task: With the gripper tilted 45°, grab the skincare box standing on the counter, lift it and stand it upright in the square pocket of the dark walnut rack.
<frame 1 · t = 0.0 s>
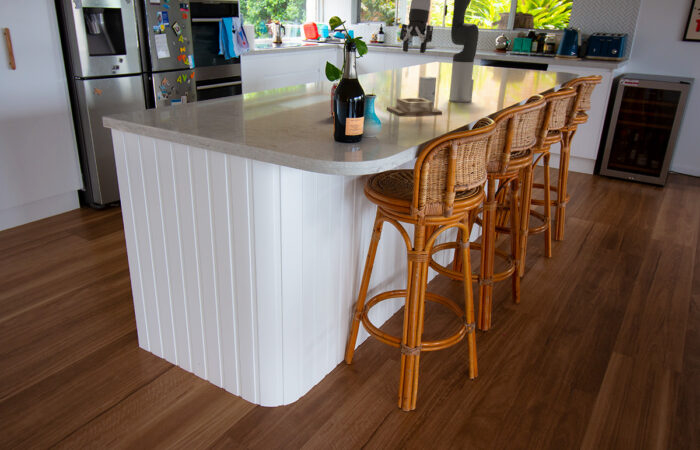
hand: (413, 52, 218), 22 cm above the counter, tool pointing down, fingers open, 8 cm apart
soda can: (340, 117, 206), on the counter
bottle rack: (413, 112, 219), on the counter
skincare box: (425, 106, 233), on the counter
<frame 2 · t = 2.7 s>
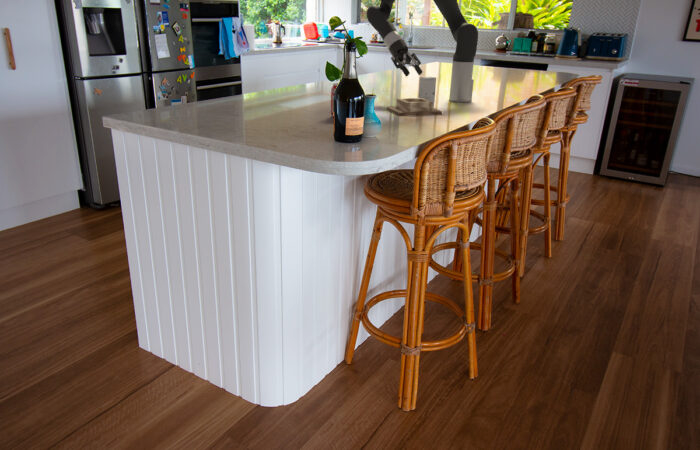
hand: (414, 74, 234), 13 cm above the counter, tool tilted 45°, fingers open, 8 cm apart
nothing on the counter moved.
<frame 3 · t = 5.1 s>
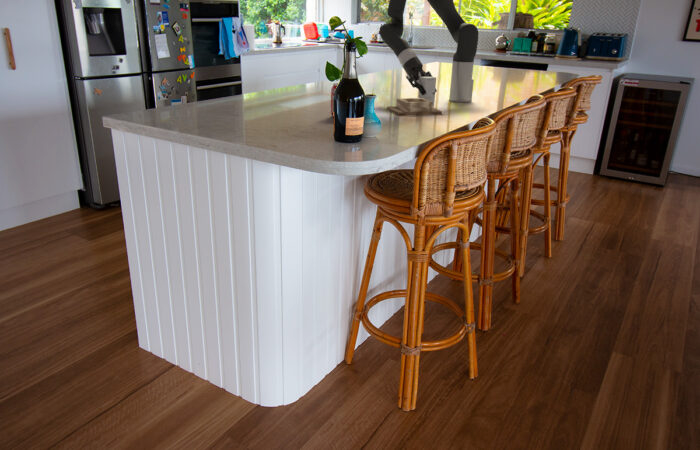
hand: (429, 93, 230), 6 cm above the counter, tool tilted 45°, fingers closed on skincare box, 6 cm apart
skincare box: (425, 106, 233), on the counter, touching gripper
everything else where it was.
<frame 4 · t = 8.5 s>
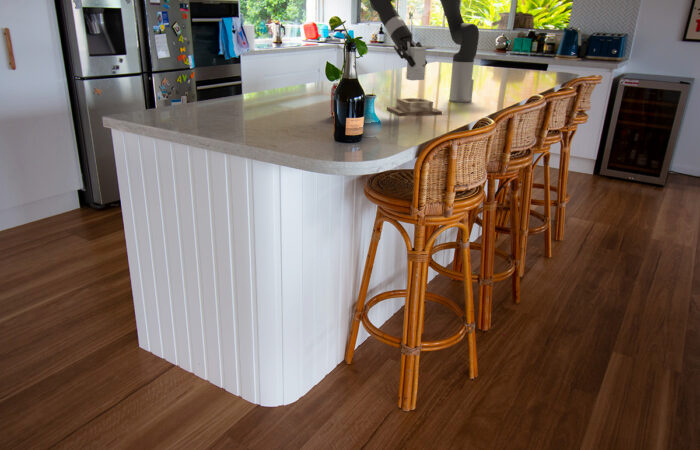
hand: (419, 65, 211), 18 cm above the counter, tool tilted 45°, fingers closed on skincare box, 6 cm apart
skincare box: (415, 80, 215), point 12 cm above the counter, touching gripper
everything else where it was.
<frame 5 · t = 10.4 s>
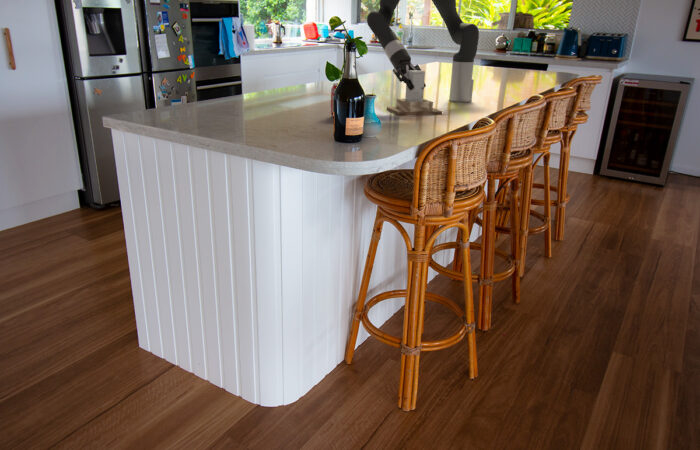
hand: (418, 88, 214), 10 cm above the counter, tool tilted 45°, fingers closed on skincare box, 6 cm apart
skincare box: (413, 102, 218), point 4 cm above the counter, touching gripper
everything else where it was.
when the fingers open (8 cm above the counter, at t = 11.8 s): skincare box drops 2 cm, resting on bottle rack.
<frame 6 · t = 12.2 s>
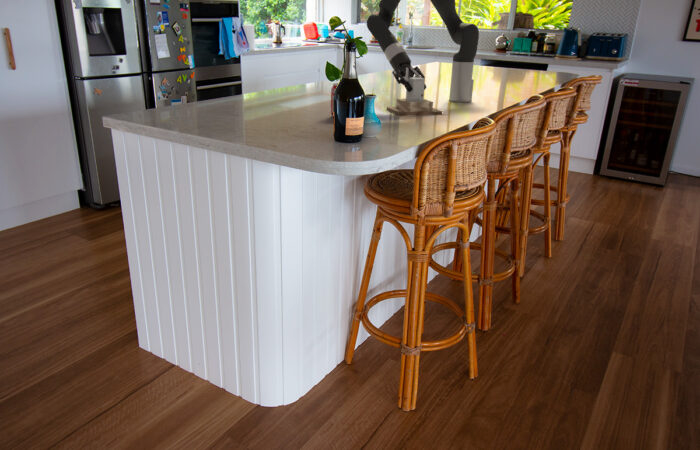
hand: (417, 89, 215), 9 cm above the counter, tool tilted 45°, fingers open, 8 cm apart
skincare box: (413, 109, 219), point 1 cm above the counter, touching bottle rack
everything else where it was.
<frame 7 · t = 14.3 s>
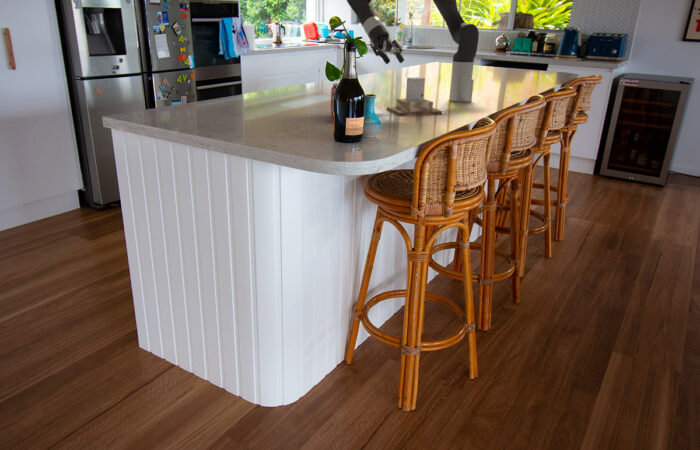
hand: (395, 62, 219), 18 cm above the counter, tool tilted 45°, fingers open, 8 cm apart
nothing on the counter moved.
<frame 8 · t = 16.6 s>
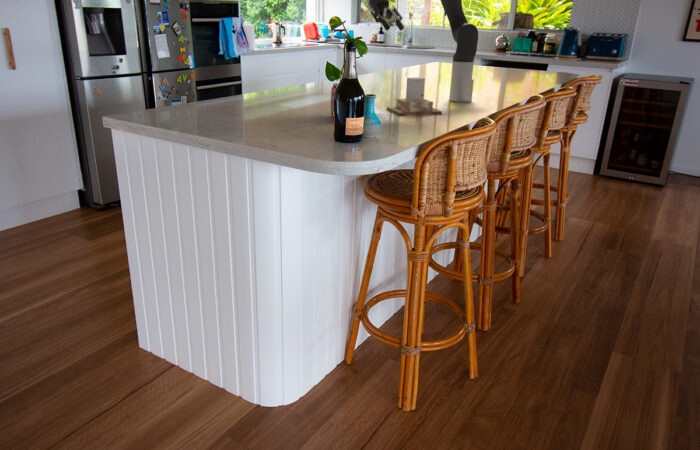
hand: (395, 29, 224), 31 cm above the counter, tool tilted 45°, fingers open, 8 cm apart
nothing on the counter moved.
at the end: skincare box 0.4 cm off-centre on the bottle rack, point 1.0 cm above the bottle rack's base; skincare box tilted 0°; the gripper is holding nothing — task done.
